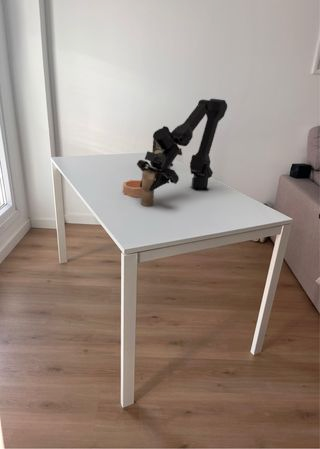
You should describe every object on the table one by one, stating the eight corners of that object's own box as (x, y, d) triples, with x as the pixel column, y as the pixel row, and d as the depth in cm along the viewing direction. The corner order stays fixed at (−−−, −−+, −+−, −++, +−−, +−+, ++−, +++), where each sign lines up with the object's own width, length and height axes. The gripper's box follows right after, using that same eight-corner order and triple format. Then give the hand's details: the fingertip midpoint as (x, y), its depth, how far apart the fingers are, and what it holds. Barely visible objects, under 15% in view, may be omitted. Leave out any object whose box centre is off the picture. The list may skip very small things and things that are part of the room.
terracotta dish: (148, 187, 145) (149, 179, 144) (153, 197, 134) (154, 189, 133) (121, 187, 143) (121, 179, 141) (124, 197, 132) (124, 189, 130)
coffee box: (150, 168, 174) (152, 138, 167) (156, 166, 179) (158, 137, 172) (164, 172, 169) (167, 141, 163) (171, 170, 174) (173, 140, 168)
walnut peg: (151, 201, 129) (153, 170, 124) (154, 206, 125) (156, 174, 120) (140, 201, 128) (141, 170, 123) (142, 206, 124) (143, 173, 118)
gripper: (141, 139, 125) (118, 170, 122) (176, 148, 114) (152, 183, 111) (154, 156, 134) (133, 186, 131) (188, 167, 122) (166, 200, 120)
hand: (145, 188), depth 123 cm, fingers closed on walnut peg, 5 cm apart
